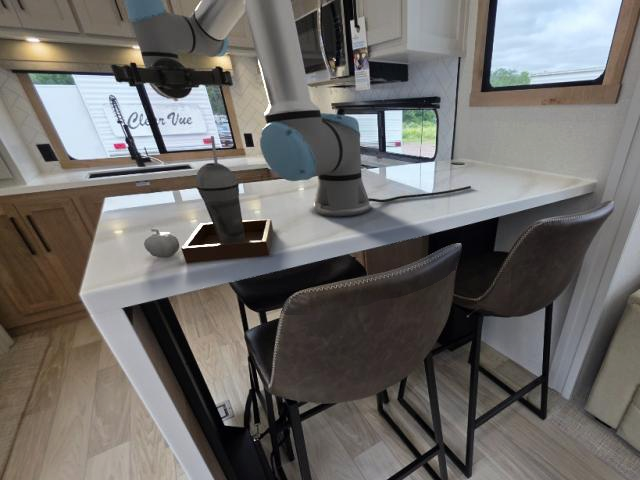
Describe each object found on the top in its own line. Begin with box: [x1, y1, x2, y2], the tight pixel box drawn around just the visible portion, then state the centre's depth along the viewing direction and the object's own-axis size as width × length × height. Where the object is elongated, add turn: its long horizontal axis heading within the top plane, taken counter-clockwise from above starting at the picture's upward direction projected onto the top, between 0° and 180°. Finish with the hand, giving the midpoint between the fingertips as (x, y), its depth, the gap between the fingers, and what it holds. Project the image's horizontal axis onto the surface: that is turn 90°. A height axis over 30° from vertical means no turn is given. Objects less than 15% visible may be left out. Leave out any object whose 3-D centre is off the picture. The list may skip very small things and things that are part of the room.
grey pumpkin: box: [143, 228, 180, 259], centre depth 63 cm, size 6×5×5 cm
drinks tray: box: [180, 218, 274, 264], centre depth 68 cm, size 15×15×3 cm
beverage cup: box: [195, 135, 245, 244], centre depth 63 cm, size 7×7×20 cm
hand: (181, 74), depth 60 cm, fingers open, 13 cm apart
